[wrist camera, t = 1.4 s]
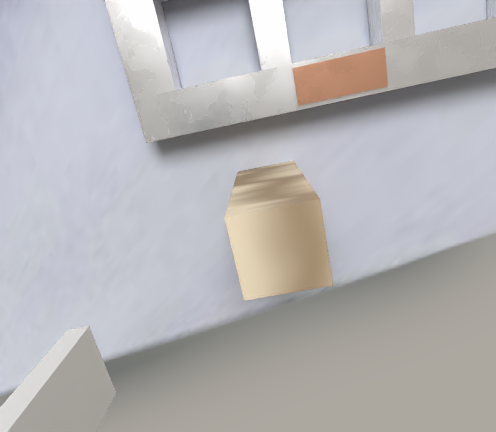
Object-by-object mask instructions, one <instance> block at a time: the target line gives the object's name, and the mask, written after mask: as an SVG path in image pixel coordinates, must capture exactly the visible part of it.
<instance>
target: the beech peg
mask: <svg viewBox="0 0 496 432" xmlns="http://www.w3.org/2000/svg"><path fill="white" fill-rule="evenodd" d="M224 218H225V222H226V226H227V231H228V235H229V239H230V243H231V247H232V252H233V256H234V260H235V264H236V268H237V272H238V277H239V281H240V285H241V289H242V293H243V297H244V301H245V300H251V299H257V298H263V297H268V296H274V295H280V294H286V293H292V292H298V291H304V290H310V289H315V288H321V287H327V286H333V281H332V275H331V268H330V262H329V255H328V248H327V242H326V235H325V228H324V222H323V215H322V208H321V202H320V198H319V197H318V195H317V194H316V193H315V191H314V190H313V188H312V187H311V185H310V184H309V182H308V181H307V179H306V178H305V177H304V175H303V174H302V172H301V171H300V169H299V168H298V166H297V165H296V164H295V162H294V161H289V162H284V163H279V164H274V165H269V166H264V167H259V168H254V169H249V170H244V171H240V172H238V173H237V176H236V180H235V183H234V187H233V190H232V193H231V197H230V200H229V204H228V207H227V210H226V214H225V217H224Z"/></svg>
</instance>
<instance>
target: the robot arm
mask: <svg viewBox="0 0 496 432" xmlns="http://www.w3.org/2000/svg"><path fill="white" fill-rule="evenodd" d="M115 394H116V392H115V389H114V387H113V384H112V382H111V379H110V377H109V374H108V372H107V369H106V367H105V365H104V362H103V359H102V357H101V354H100V352H99V350H98V347H97V345H96V342H95V340H94V337H93V335H92V332H91V330H90V327H89V326H87V327H81V328H76V329H70V330H67V331H66V332H65V333H64V334H63V335H62V336H61V338H60V339H59V340H58V341H57V342H56V343H55V345H54V346H53V347H52V348H51V349H50V350H49V352H48V353H47V354H46V355H45V356H44V357H43V358H42V360H41V361H40V362H39V363H38V364H37V365H36V367H35V368H34V369H33V370H32V371H31V372H30V374H29V375H28V376H27V377H26V378H25V379H24V381H23V382H22V383H21V384H20V385H19V386H18V387H17V389H16V390H15V391H14V392H13V393H12V394H11V396H10V397H9V398H8V399H7V400H6V401H5V403H4V404H3V405H2V406H1V407H0V432H97V430H98V428H99V426H100V424H101V422H102V420H103V418H104V416H105V414H106V412H107V410H108V408H109V406H110V404H111V402H112V400H113V398H114V396H115Z"/></svg>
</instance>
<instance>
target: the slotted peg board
mask: <svg viewBox="0 0 496 432" xmlns="http://www.w3.org/2000/svg"><path fill="white" fill-rule="evenodd" d="M165 1H169V0H105V3H106V7H107V10H108V13H109V17H110V20H111V24H112V27H113V31H114V34H115V38H116V41H117V44H118V48H119V51H120V55H121V58H122V62H123V65H124V68H125V72H126V75H127V79H128V82H129V86H130V89H131V93H132V96H133V99H134V103H135V106H136V110H137V113H138V117H139V120H140V123H141V127H142V130H143V134H144V137H145V141H146V143H149V142H153V141H158V140H163V139H167V138H172V137H177V136H181V135H186V134H190V133H195V132H200V131H204V130H209V129H214V128H218V127H223V126H228V125H232V124H237V123H242V122H246V121H251V120H256V119H260V118H265V117H269V116H274V115H279V114H283V113H288V112H293V111H297V110H302V109H307V108H311V107H316V106H321V105H325V104H330V103H335V102H339V101H344V100H348V99H353V98H358V97H362V96H367V95H372V94H376V93H381V92H386V91H390V90H395V89H400V88H404V87H409V86H414V85H418V84H423V83H428V82H432V81H437V80H441V79H446V78H451V77H455V76H460V75H465V74H469V73H474V72H479V71H483V70H488V69H493V68H496V0H487V19H486V20H482V21H477V22H473V23H469V24H464V25H460V26H455V27H451V28H447V29H442V30H438V31H433V32H429V33H425V34H420V35H416V36H415V27H414V9H413V0H367V9H368V20H369V31H370V41H371V46H367V47H363V48H359V49H354V50H350V51H345V52H341V53H336V54H332V55H328V56H323V57H319V58H314V59H310V60H306V61H301V62H297V63H291V56H290V50H289V44H288V37H287V31H286V25H285V18H284V12H283V5H282V0H248V3H249V8H250V14H251V19H252V25H253V30H254V36H255V41H256V47H257V52H258V58H259V63H260V69H261V71H257V72H253V73H248V74H244V75H240V76H235V77H231V78H226V79H222V80H218V81H213V82H209V83H204V84H200V85H196V86H191V87H187V88H182V86H181V82H180V78H179V74H178V70H177V66H176V62H175V58H174V54H173V50H172V46H171V42H170V38H169V34H168V30H167V26H166V22H165V18H164V13H163V9H162V5H161V2H165Z"/></svg>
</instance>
